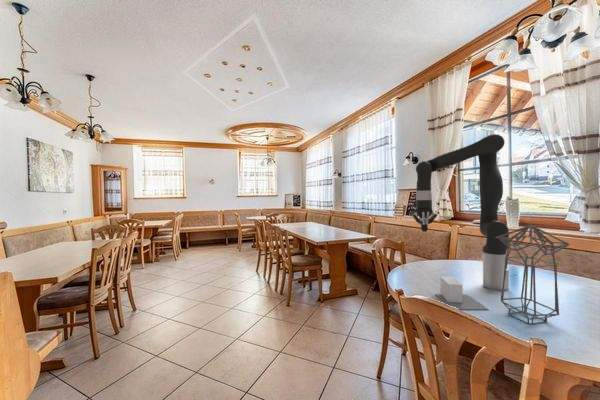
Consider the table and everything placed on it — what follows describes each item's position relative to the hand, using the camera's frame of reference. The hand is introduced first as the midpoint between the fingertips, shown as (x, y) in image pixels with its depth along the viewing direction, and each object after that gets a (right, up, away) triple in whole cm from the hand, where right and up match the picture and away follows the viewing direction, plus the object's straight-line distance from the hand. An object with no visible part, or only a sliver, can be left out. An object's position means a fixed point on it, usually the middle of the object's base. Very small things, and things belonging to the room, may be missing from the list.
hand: (424, 231), depth 133 cm
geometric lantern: (+19, -28, -41) cm, 53 cm away
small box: (+2, -23, -16) cm, 28 cm away
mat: (+3, -27, -25) cm, 37 cm away
